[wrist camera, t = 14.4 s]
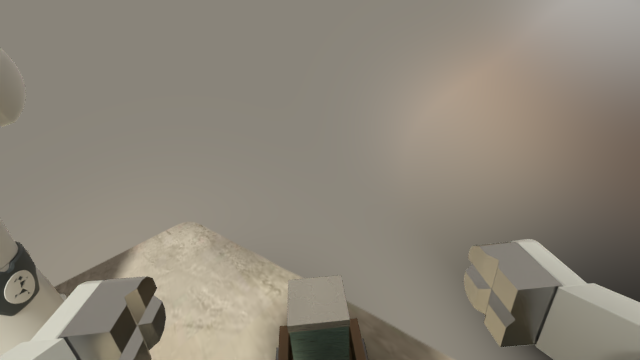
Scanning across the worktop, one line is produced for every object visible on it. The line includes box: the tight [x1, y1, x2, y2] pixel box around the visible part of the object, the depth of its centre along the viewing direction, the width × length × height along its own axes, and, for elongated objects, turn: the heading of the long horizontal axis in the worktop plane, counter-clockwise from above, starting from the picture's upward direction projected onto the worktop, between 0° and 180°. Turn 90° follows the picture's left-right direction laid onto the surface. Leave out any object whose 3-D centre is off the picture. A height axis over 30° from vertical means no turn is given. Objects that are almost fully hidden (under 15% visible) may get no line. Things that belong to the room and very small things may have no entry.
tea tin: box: [287, 275, 350, 360], centre depth 30 cm, size 5×5×12 cm
